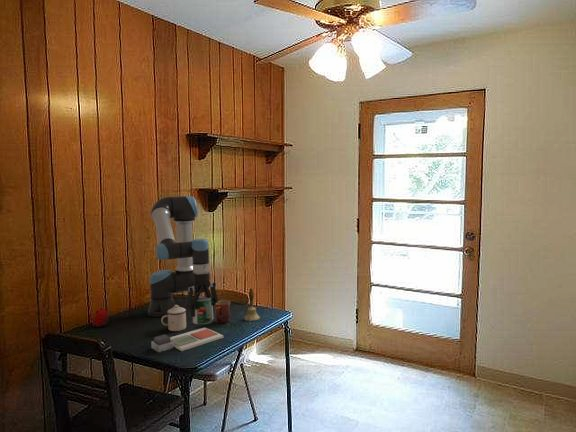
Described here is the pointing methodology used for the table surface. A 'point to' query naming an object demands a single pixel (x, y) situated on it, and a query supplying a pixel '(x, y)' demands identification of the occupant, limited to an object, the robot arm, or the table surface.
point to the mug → (222, 311)
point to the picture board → (195, 338)
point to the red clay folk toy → (100, 317)
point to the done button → (162, 339)
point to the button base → (162, 346)
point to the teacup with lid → (176, 318)
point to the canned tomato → (204, 310)
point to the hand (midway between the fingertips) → (203, 320)
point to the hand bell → (251, 309)
